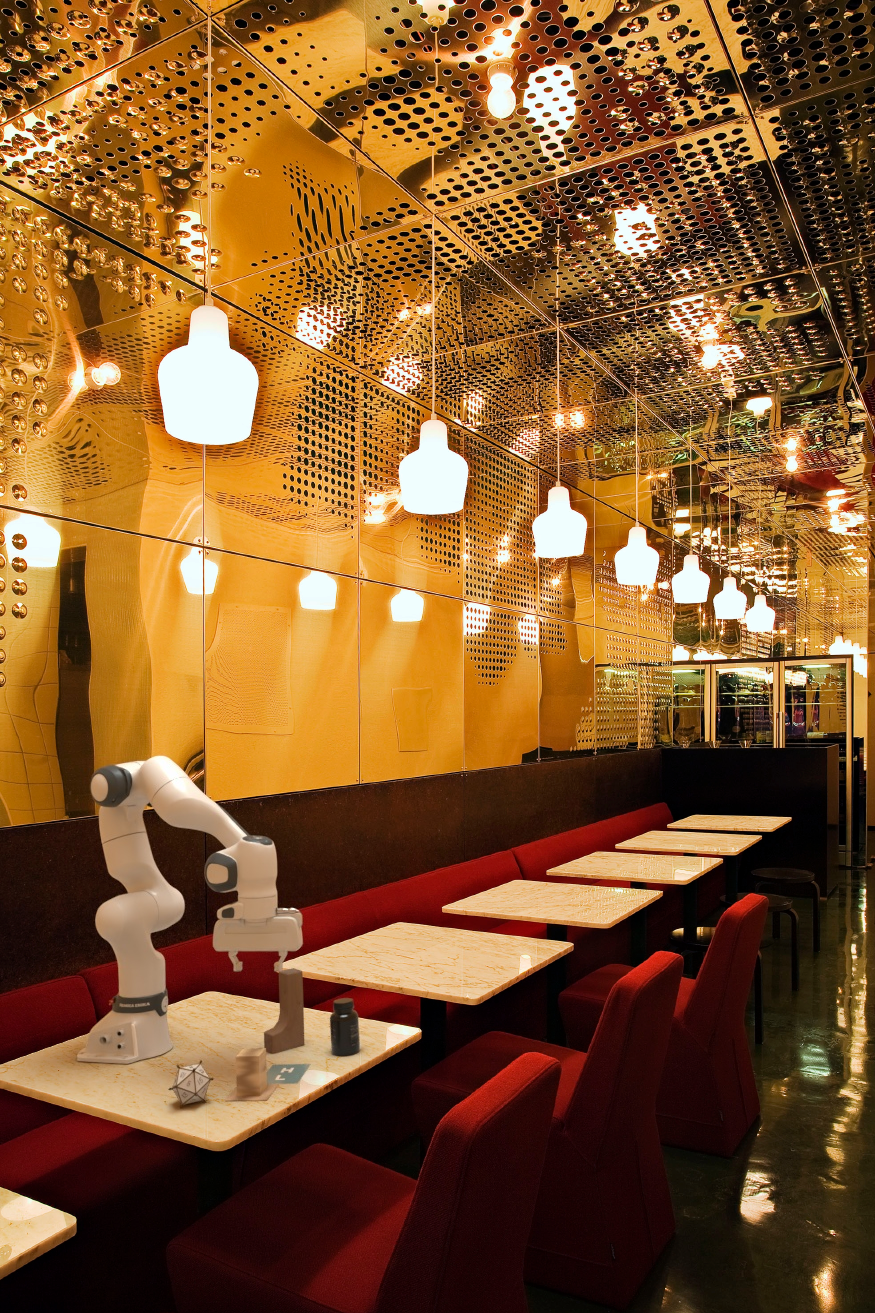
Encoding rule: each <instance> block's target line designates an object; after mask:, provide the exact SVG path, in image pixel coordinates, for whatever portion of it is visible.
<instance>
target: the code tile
mask: <svg viewBox="0 0 875 1313" xmlns="http://www.w3.org/2000/svg"><path fill="white" fill-rule="evenodd" d="M310 1066H311V1063H291V1064H290V1063H289V1064H288V1063H287V1064H286V1063H285V1064H283V1063H282V1064H272V1065H271V1066H270V1067H269V1068H268V1070H267V1084H279V1085H281V1084H282V1085H285V1084H287V1085H288V1084H289V1085H290V1084H292V1085H293V1084H299V1082H300V1081H301V1079H302V1078H303V1076H304V1075H305V1073H306V1072H307V1071H308V1069H309V1068H310Z"/></svg>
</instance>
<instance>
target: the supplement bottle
mask: <svg viewBox="0 0 875 1313" xmlns="http://www.w3.org/2000/svg"><path fill="white" fill-rule="evenodd" d="M332 1003H333V1009H332V1010H333V1012H332V1013H331V1014H330V1017H329V1028H330V1029H329V1030H330V1047H331V1048H330V1050H331V1053H332V1055H333V1056H336V1057H349V1056H353V1055H357V1054H358V1053H359V1052H360V1051H361V1047H360V1046H361V1045H360V1044H361V1043H360V1042H361V1041H360V1025H359V1022H360V1021H359V1013H358V1012H357V1011H356V1010H355V1009H354V1008H355V1005H354V999H353V998H349V997H343V998H338V999H335V1000H333V1002H332Z"/></svg>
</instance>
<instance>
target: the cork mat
mask: <svg viewBox="0 0 875 1313" xmlns="http://www.w3.org/2000/svg"><path fill="white" fill-rule="evenodd" d="M278 1086H280V1084H267V1088H266V1089H265V1090H264V1092H263V1093H262V1094H261V1096H237V1086H236V1087H235V1088H234V1089H233V1090H232V1091H231V1092H230V1093H229V1095H228V1096H227V1097H226V1098H225V1099H224V1102H225V1103H227V1102H267V1101H268V1100H269V1099H270V1097H271V1096H272V1095H273V1093H275V1091H276V1089H277V1088H278Z"/></svg>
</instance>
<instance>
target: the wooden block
mask: <svg viewBox="0 0 875 1313" xmlns="http://www.w3.org/2000/svg"><path fill="white" fill-rule="evenodd" d="M303 978H304V977H303V970H301V969H298V968H295V967H294V968H293V967H291V968H288V969H282V971H278V987H279V988H278V990H279V992H278V993H279V995H278V998H279V1014H278V1020H277V1021H276V1022H275V1025H274V1026H273V1027H271V1028H269V1029H268V1030H265V1031H264V1032H263V1038H264V1039H263V1044H264V1045H263V1046H264V1047H263V1048H266V1053H269V1054H272V1055H274V1054H278V1053H281V1052H282V1053H283V1052H285V1051H288V1050H293V1049H296V1048H300V1047H303V1046H305V1017H304V1016H305V1015H304V986H303V985H304V982H303Z"/></svg>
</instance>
